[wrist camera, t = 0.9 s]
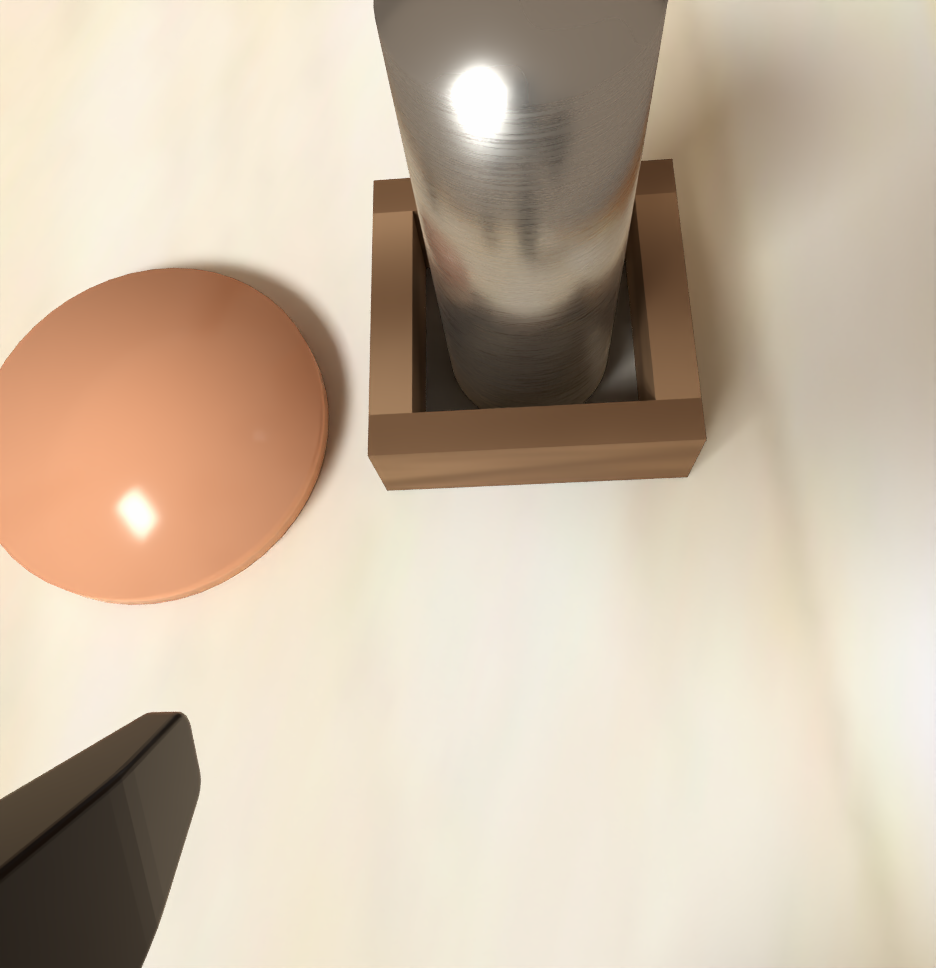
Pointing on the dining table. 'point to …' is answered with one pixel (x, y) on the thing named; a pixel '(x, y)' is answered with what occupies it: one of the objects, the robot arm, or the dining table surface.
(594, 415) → the pocket block
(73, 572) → the coaster
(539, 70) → the peg
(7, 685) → the dining table surface
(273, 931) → the dining table surface
